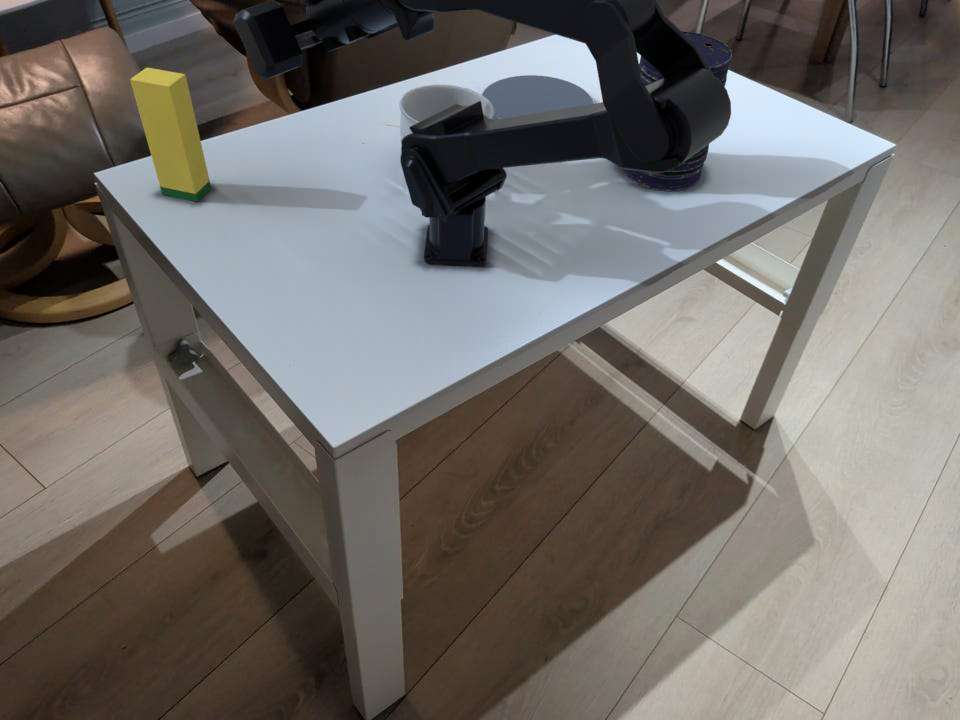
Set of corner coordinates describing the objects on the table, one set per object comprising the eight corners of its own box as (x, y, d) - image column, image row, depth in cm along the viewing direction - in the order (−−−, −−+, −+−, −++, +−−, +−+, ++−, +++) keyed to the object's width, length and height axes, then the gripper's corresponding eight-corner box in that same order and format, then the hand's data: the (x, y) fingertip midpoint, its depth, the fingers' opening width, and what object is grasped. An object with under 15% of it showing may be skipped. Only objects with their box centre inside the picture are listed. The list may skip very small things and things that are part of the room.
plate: (595, 140, 102) (597, 130, 101) (478, 134, 102) (479, 124, 101) (588, 87, 113) (589, 77, 112) (482, 82, 113) (483, 72, 112)
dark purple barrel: (649, 198, 93) (675, 74, 82) (604, 158, 99) (624, 37, 89) (718, 181, 96) (752, 59, 86) (671, 143, 102) (697, 25, 92)
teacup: (438, 134, 102) (437, 74, 96) (508, 162, 97) (512, 100, 92) (365, 180, 93) (360, 117, 88) (439, 213, 89) (438, 148, 83)
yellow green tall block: (176, 181, 92) (146, 67, 82) (211, 188, 91) (185, 73, 82) (162, 194, 90) (129, 79, 80) (197, 202, 89) (169, 86, 80)
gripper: (405, -113, 76) (320, -58, 88) (246, -73, 66) (173, -16, 77) (448, 6, 80) (361, 44, 92) (304, 62, 70) (227, 96, 82)
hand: (285, 40), depth 86 cm, fingers open, 9 cm apart
